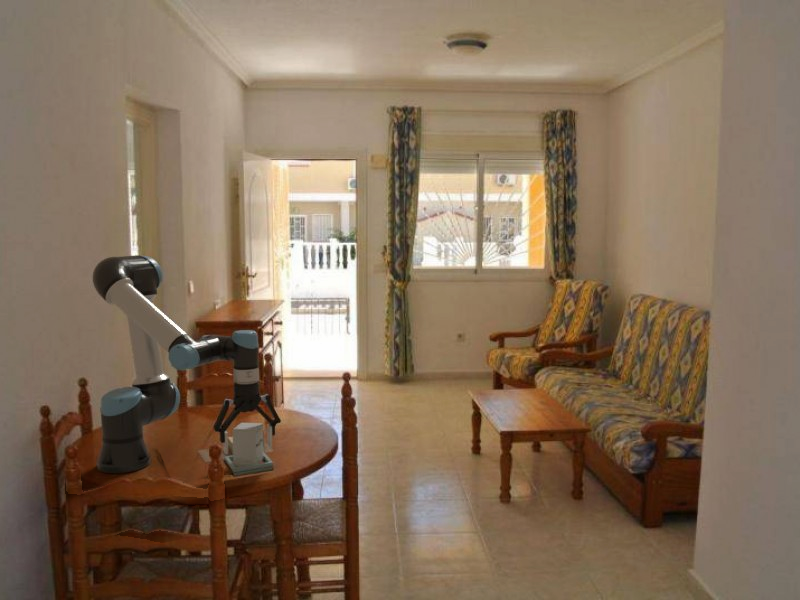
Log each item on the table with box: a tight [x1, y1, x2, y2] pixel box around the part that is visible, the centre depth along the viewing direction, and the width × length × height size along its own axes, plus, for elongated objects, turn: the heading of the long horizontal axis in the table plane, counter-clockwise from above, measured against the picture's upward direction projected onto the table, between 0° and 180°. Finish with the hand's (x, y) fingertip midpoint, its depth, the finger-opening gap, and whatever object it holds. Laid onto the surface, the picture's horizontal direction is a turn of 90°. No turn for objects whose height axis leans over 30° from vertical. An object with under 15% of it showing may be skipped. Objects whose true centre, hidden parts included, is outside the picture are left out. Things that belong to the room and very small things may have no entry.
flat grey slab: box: [197, 430, 275, 463], centre depth 216 cm, size 22×12×6 cm, turn 117°
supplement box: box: [232, 422, 265, 467], centre depth 205 cm, size 7×7×13 cm
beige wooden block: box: [228, 435, 233, 454], centre depth 217 cm, size 7×7×4 cm
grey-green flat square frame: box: [224, 452, 274, 478], centre depth 205 cm, size 12×12×2 cm
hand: (248, 449), depth 205 cm, fingers open, 13 cm apart
